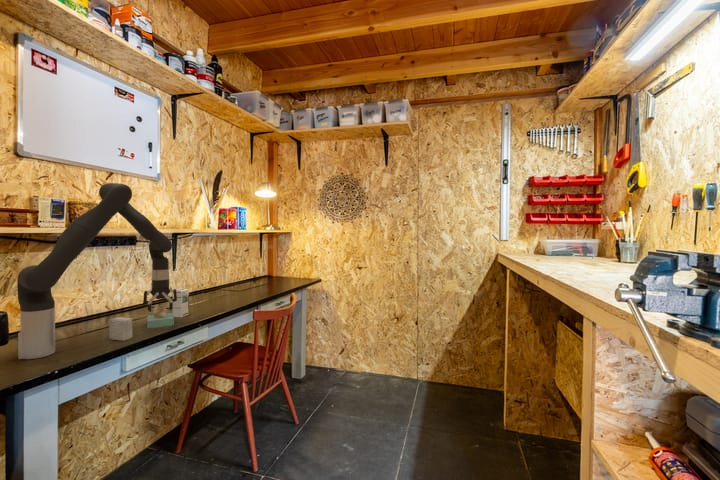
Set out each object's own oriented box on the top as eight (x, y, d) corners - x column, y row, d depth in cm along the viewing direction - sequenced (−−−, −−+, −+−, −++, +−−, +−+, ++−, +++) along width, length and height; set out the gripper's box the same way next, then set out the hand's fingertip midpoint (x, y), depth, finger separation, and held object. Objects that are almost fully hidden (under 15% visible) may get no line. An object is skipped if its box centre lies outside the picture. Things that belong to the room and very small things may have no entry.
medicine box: (132, 338, 145) (132, 318, 144) (122, 341, 140) (122, 321, 140) (118, 336, 147) (118, 316, 147) (108, 339, 143) (108, 319, 142)
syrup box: (182, 317, 179) (182, 290, 178) (172, 316, 180) (172, 290, 179) (189, 314, 184) (189, 288, 184) (179, 314, 185) (179, 288, 185)
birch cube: (153, 318, 162) (153, 308, 162) (154, 316, 167) (154, 306, 167) (165, 317, 165) (165, 307, 165) (166, 315, 169) (166, 305, 169)
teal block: (147, 329, 159) (147, 321, 159) (147, 323, 168) (147, 315, 168) (173, 326, 164) (173, 318, 164) (172, 320, 174) (172, 313, 174)
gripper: (142, 280, 159) (142, 314, 159) (176, 278, 166) (176, 311, 166) (144, 278, 165) (144, 310, 166) (176, 276, 172) (176, 307, 173)
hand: (160, 310), depth 166 cm, fingers open, 8 cm apart
